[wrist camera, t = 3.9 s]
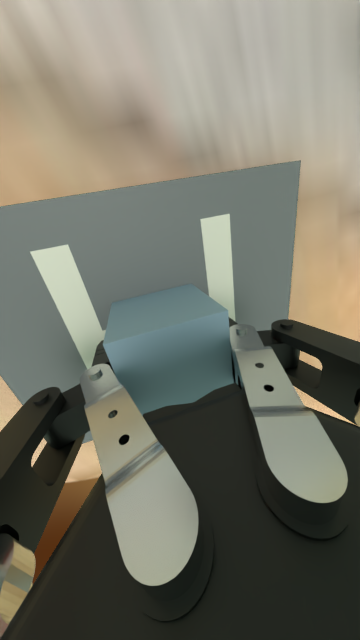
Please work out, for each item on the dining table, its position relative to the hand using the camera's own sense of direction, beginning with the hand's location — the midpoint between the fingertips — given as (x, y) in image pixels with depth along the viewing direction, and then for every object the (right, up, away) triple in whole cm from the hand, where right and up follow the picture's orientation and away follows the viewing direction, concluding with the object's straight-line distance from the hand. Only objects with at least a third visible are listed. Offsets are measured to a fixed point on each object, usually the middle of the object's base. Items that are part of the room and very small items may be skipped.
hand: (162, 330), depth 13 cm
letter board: (0, 0, +1) cm, 1 cm away
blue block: (0, 0, 0) cm, 0 cm away
